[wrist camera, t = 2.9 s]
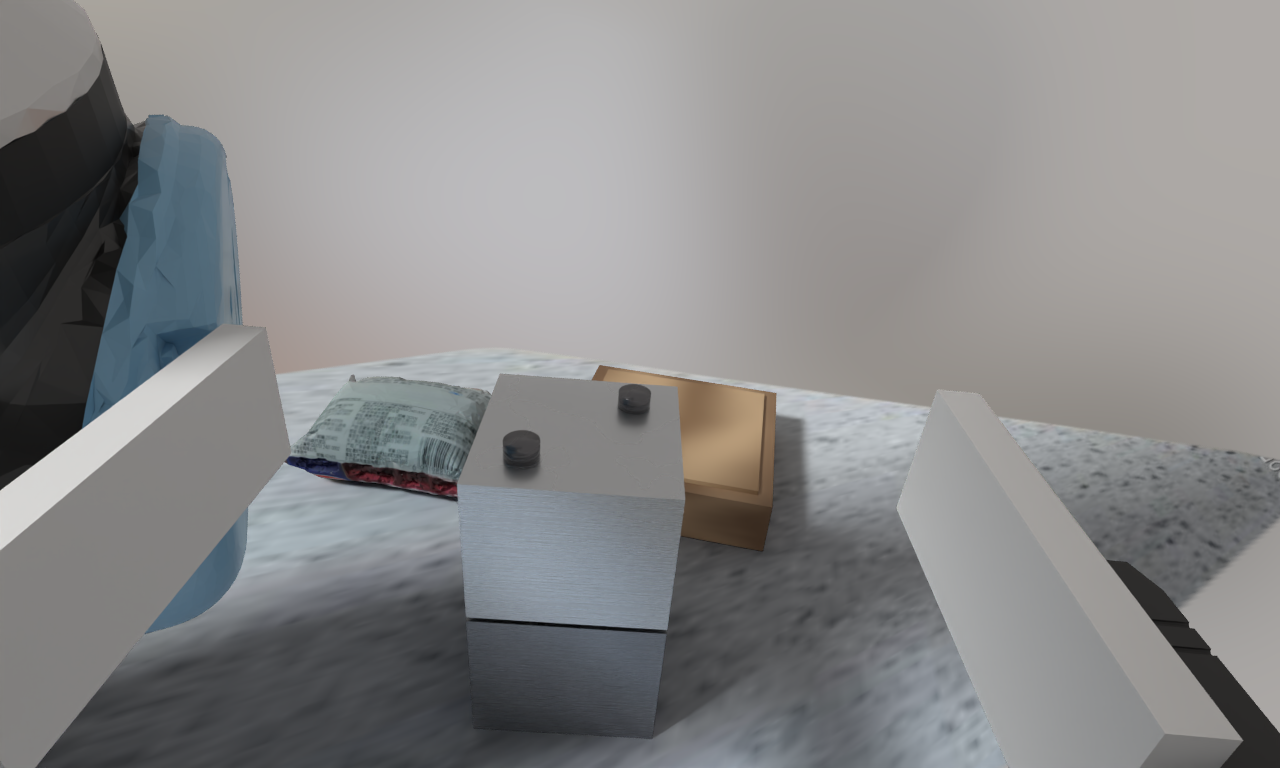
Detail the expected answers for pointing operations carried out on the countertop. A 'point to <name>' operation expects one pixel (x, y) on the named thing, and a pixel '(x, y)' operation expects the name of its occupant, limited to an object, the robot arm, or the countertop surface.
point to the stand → (720, 456)
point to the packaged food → (394, 434)
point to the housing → (570, 554)
